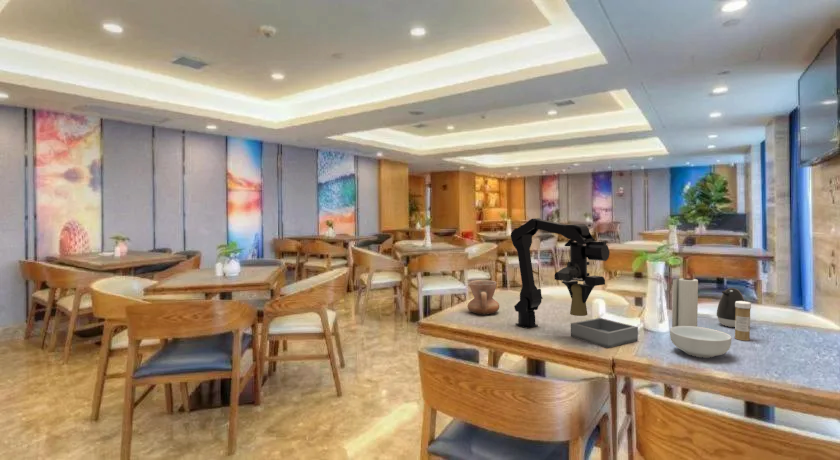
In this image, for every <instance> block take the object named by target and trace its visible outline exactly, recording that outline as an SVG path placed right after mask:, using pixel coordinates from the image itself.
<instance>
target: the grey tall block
mask: <svg viewBox="0 0 840 460" xmlns="http://www.w3.org/2000/svg"><path fill="white" fill-rule="evenodd" d="M698 291H699V280H698V279H696V278H691V277H690V278H686V277H684V278H682V277H681V278H672V305H671V306H672V307H671V308H672V315H671V317H672V318H671V319H672V320H671V321H672V322H671V328H673V327H676V326H695V327H698V310H699V309H698V305H699V304H698V303H699V302H698V301H699V300H698V299H699V298H698V297H699V295H698V294H699V292H698Z"/></svg>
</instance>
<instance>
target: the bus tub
mask: <svg viewBox="0 0 840 460" xmlns="http://www.w3.org/2000/svg"><path fill="white" fill-rule="evenodd" d="M638 328H639V327H638V326H635V325H632V324H628V323H627V324H626V323H624V322H620V321H616V320H610V319H608V318H607V319H606V318H602V317H597V318H592V319H586V320H581V321H576V322H571V323H570V337H571V338H574V339H577V340H580V341H584V342H587V343H590V344H593V345H596V346H599V347H603V348H606V349H611V348H615V347H618V346H622V345H626V344H630V343H634V342H638V340H639V329H638Z"/></svg>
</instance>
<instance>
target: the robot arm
mask: <svg viewBox="0 0 840 460" xmlns="http://www.w3.org/2000/svg"><path fill="white" fill-rule="evenodd" d="M539 230H540V231H544V232H548V233H553V234H558V235H560V236H562V237H564V238H566V239H568V240H567V242H566V243H564V247H569V251H570V254H569V256H570V257H569V259H570V260H569V261H567V264H566V267H564V268H563V267H562V268H561V269H560V270H558V271H555V273H554V280H556V281H560V282H561V283H562V284H563V285H565V286H566V288H567V290H568V293H569V296H570V299H571V300H572V295H573V293H572V291H571V286H572V285H573V284H579V282H583V283H582V284H581V283H580V284H581V285H580V287H581V288H582V301H583V303H586V304H587V300H588V299H589V296H590V295H591V292H592V291H593V289H594V288H595V287H596V286H604V285H606V280H605V277H604V276H601V275H590V273H589V272H588V266H589V265H590V261H600V262H601V261H603V262H607V261H608V259H609V257H610V254H611V253H610V249H609V246H608V244H607V241H605V240H604V241H603V240H601V241H600V240H599V241H596V239H595V238H594V236H593V235H592V234H591V232H590V229H589V227H588V225H586V224H584V223H583V224H580V223H579V224H577V223H576V224H575V223H574V224H573V223H571V224H570V223H569V224H566V223H560V222H557V221H556V222H554V221H551V220H546V219H541V218H538V217H537V218H531V219H529V220H528V221H527V222H526V223H525V222H524V224H521V225H520V226H519V227H517V228H514V229H513V230H512V231H511V233H510V239H511V240H510V241H511V242H512V246H514V248H515V250H516V252H517V259H518V264H519V265H518V266H519V273H520V279H521V289H520V292H519V301H518V302H517V303H516V304H515V305H514V310H515V312H517V314H518V315H517V316H518V317H517V318H518V321H517V323H515V326H519V327H521V328H524V329H529V328H534V327H538V324H536V312H535V311H537V310H538V309H539V306H540V305H541V303H542V300H543V299H544V298H543V296H542V289H541V288H537V286H536V285H535V278H534V271H533V265H532V257H531V247H532V243H533V237H534V236H535V235H536V234H537V233H538V232H539ZM588 260H589V261H588Z"/></svg>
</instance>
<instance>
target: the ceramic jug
mask: <svg viewBox="0 0 840 460" xmlns="http://www.w3.org/2000/svg"><path fill="white" fill-rule="evenodd" d="M469 288H470V290H471V293H472V296H473V298H472V299H471V300H470V301H469V302H467V309H468V310H469V311H470V312H471V313H474V314H477V315H484V314H485V315H492V314H495V313H497V312H498V311H499V310H500V304H499V302H498V301H497V300H496V299H494V295H495V292H496V288H497V281H493V280H490V279H488V280H487V279H486V280H484V279H478V280H476V279H475V280H472V281H469Z"/></svg>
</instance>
